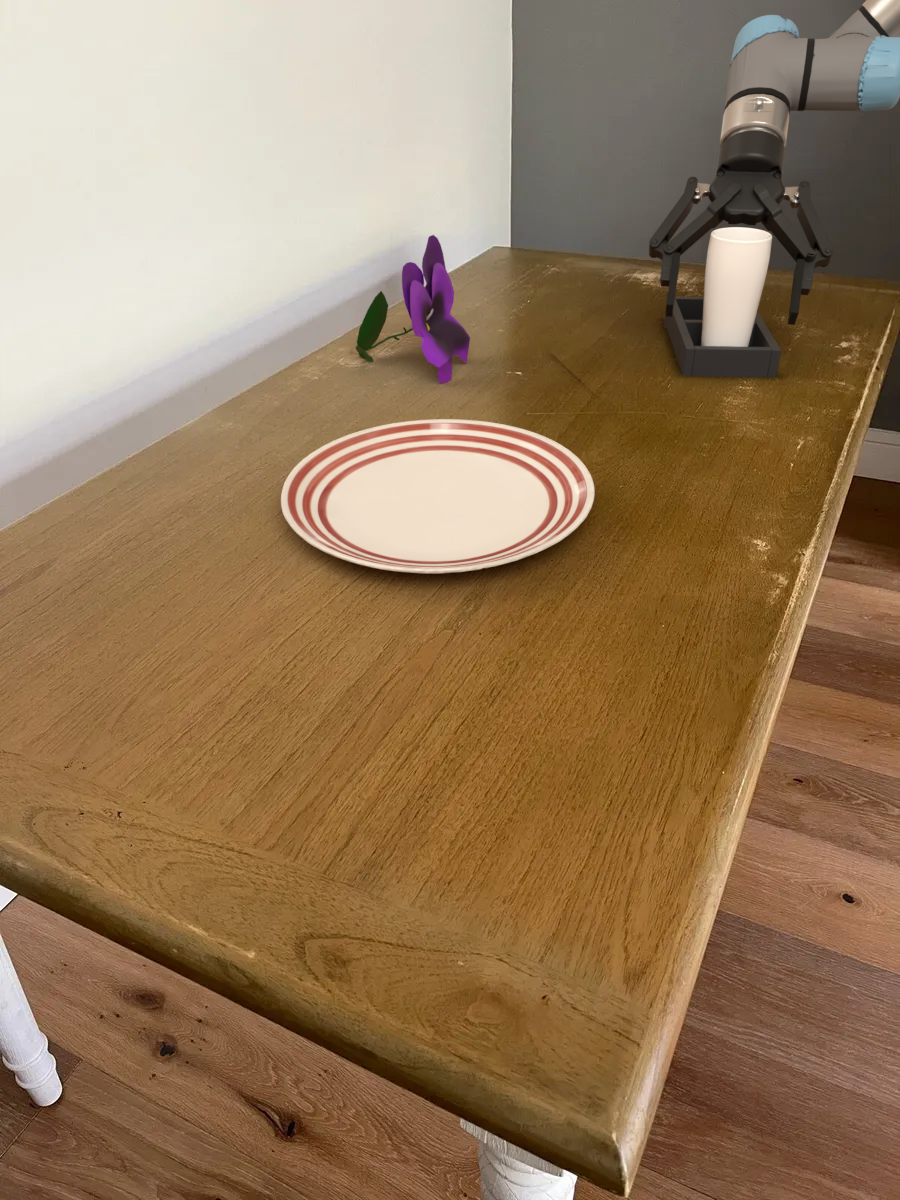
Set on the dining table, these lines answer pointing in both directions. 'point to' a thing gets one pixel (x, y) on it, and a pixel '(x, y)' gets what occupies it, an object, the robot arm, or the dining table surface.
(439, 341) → the flower
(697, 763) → the dining table surface
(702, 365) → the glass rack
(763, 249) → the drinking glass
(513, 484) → the dinner plate
